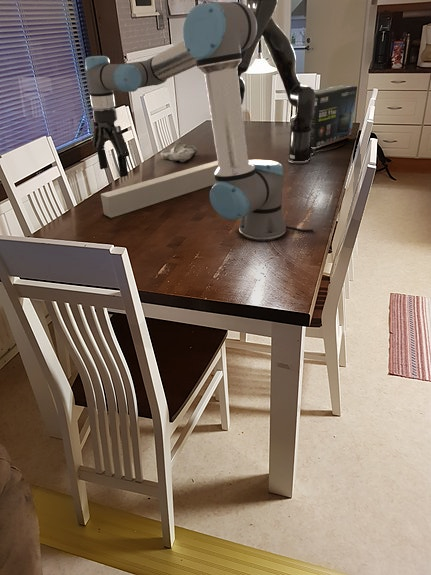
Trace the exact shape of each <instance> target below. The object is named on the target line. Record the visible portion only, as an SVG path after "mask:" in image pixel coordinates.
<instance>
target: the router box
mask: <svg viewBox="0 0 431 575" xmlns="http://www.w3.org/2000/svg"><path fill="white" fill-rule="evenodd" d="M314 91H315V107H314V115H313V118H312V120H311V133H310V140H311V141H312V143H311V147H317V146H320V145H323V144H325V143H328V142H331V141H333V140H336V139H338V138H341V137H344V136H347V135H351V136H352V133H353V132H352V131H353V125H354V115H355V109H356V99H357V93H358V86H356V85H350V84H339V85H338V84H337V85H334V86H328V87H324V88H318V89H314Z"/></svg>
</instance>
